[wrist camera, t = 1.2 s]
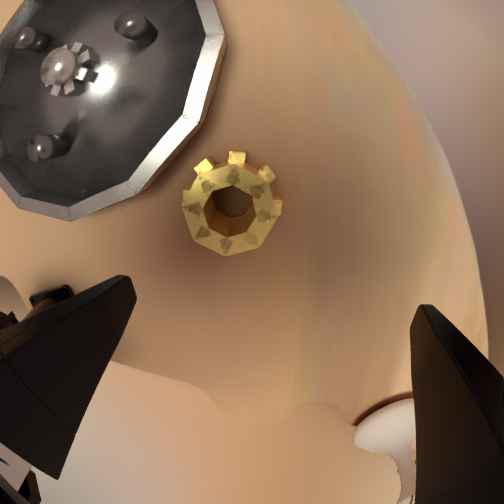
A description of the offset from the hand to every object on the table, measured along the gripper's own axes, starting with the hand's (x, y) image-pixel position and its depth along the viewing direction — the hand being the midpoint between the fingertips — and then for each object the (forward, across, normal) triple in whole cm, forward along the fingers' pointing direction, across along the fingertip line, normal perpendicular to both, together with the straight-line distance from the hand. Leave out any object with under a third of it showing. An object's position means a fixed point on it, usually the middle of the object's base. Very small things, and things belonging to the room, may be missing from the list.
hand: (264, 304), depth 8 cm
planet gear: (+12, +4, +1) cm, 13 cm away
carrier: (+10, +15, -10) cm, 21 cm away
